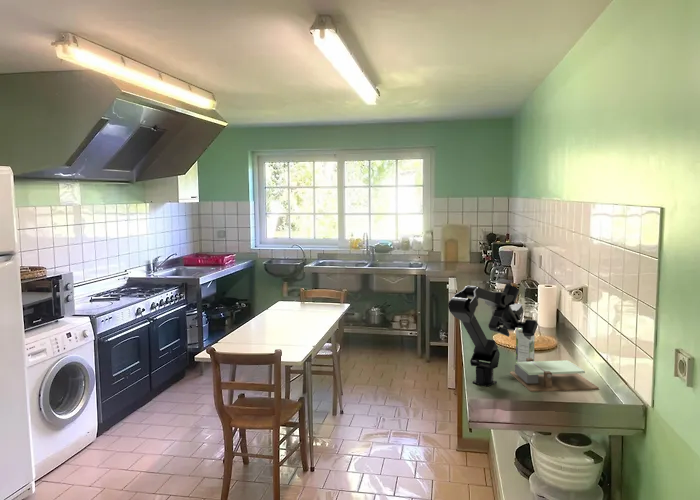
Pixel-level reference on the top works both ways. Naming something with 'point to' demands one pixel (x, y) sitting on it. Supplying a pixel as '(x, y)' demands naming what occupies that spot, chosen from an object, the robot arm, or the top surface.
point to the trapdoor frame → (556, 382)
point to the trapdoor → (544, 369)
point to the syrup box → (524, 346)
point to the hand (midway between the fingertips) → (519, 337)
